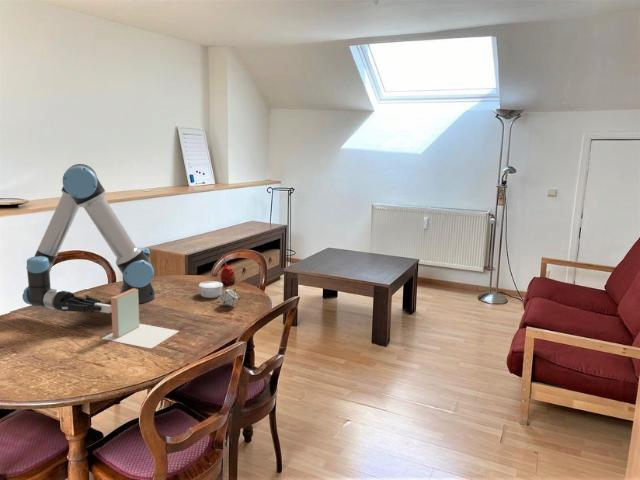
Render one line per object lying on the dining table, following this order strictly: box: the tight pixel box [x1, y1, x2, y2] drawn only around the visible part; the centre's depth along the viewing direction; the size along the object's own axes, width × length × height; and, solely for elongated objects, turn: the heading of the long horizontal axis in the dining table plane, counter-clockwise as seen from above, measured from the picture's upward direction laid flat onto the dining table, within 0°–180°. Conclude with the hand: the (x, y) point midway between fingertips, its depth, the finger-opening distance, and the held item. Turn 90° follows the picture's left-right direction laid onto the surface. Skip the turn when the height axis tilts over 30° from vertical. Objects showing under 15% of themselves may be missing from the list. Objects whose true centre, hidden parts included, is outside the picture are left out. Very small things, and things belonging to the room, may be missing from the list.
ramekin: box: [198, 280, 224, 299], centre depth 230 cm, size 11×11×5 cm
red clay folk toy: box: [220, 254, 236, 286], centre depth 247 cm, size 8×7×15 cm
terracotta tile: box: [110, 288, 140, 338], centre depth 182 cm, size 12×2×15 cm, turn 162°
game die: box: [217, 287, 241, 309], centre depth 216 cm, size 9×8×10 cm
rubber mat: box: [101, 323, 180, 349], centre depth 181 cm, size 21×17×1 cm
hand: (110, 309), depth 183 cm, fingers closed
